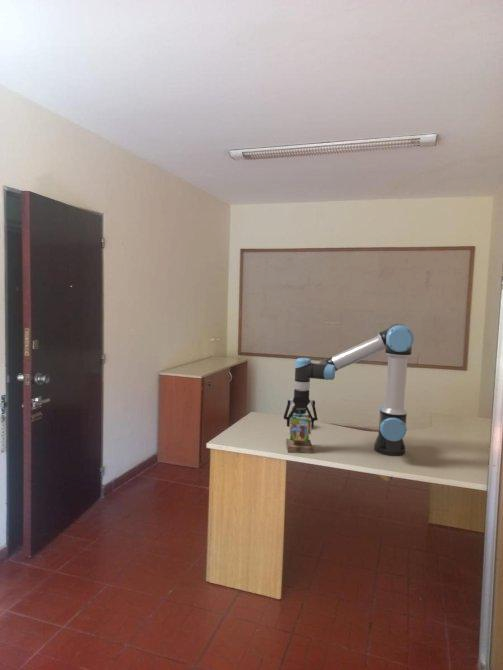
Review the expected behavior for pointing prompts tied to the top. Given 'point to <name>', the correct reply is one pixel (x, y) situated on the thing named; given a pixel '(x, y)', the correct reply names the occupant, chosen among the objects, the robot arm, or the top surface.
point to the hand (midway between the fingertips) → (299, 433)
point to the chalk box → (299, 427)
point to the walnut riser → (299, 446)
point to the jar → (302, 411)
